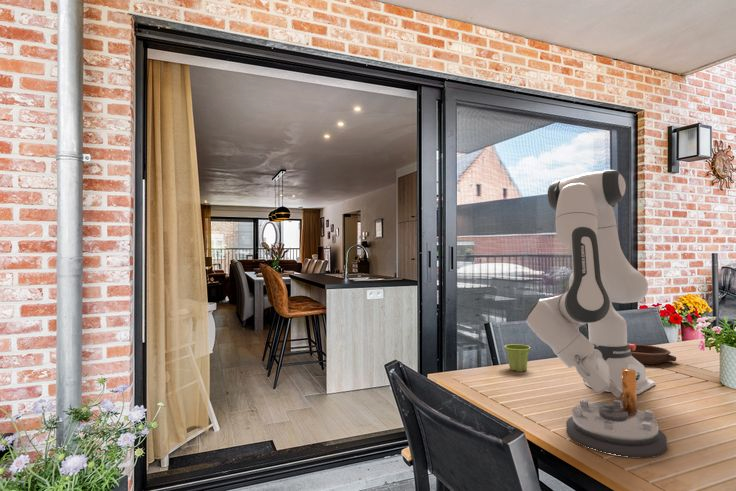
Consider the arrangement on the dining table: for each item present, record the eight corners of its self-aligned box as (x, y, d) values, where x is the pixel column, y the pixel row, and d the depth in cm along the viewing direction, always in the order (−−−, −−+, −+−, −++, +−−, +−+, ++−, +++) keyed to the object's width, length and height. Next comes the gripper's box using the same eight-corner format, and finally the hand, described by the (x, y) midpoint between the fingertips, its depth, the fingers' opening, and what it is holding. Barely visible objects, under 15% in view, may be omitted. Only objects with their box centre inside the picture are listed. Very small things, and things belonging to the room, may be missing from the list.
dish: (677, 370, 155) (677, 356, 155) (609, 362, 167) (608, 350, 167) (675, 359, 169) (675, 346, 169) (612, 353, 182) (612, 341, 182)
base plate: (601, 414, 116) (601, 407, 116) (686, 444, 97) (686, 436, 97) (548, 430, 107) (547, 423, 107) (630, 467, 88) (630, 458, 88)
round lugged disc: (660, 423, 104) (658, 371, 104) (656, 452, 90) (654, 391, 90) (580, 409, 115) (578, 361, 115) (565, 433, 100) (563, 378, 101)
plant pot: (501, 366, 166) (500, 344, 166) (524, 365, 166) (523, 343, 166) (511, 373, 156) (510, 350, 156) (535, 372, 157) (534, 348, 157)
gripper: (584, 353, 102) (632, 400, 97) (587, 337, 120) (627, 376, 115) (564, 369, 104) (610, 416, 99) (570, 350, 122) (609, 389, 117)
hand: (619, 394), depth 107 cm, fingers closed, pressing on round lugged disc
